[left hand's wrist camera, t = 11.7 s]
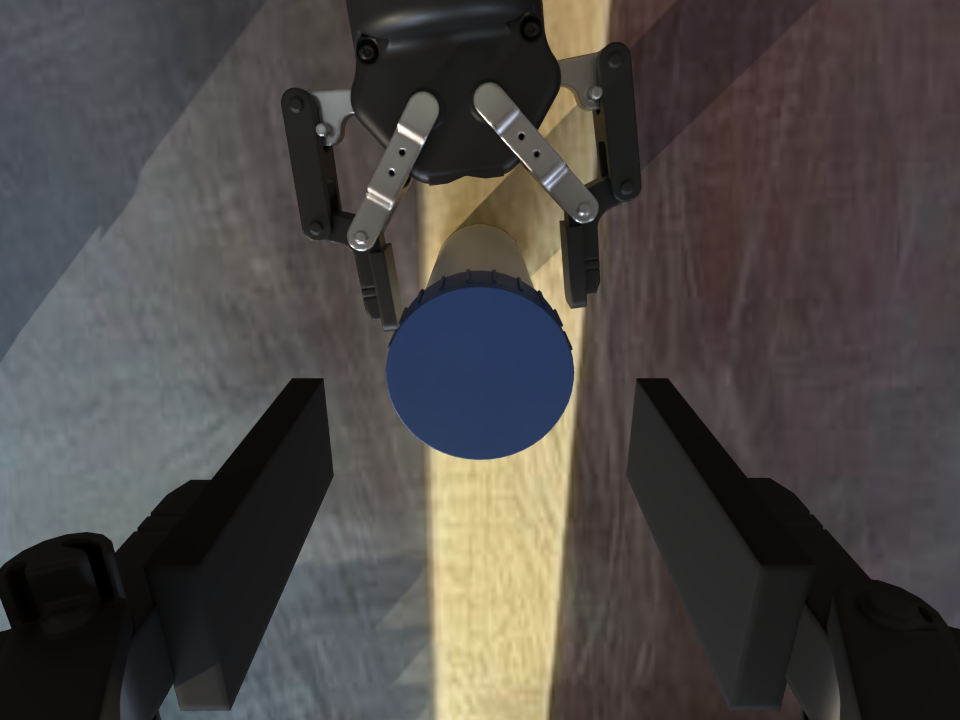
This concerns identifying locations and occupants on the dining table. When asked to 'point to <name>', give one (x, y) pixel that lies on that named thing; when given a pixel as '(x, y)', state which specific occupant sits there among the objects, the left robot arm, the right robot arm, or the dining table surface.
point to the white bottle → (479, 254)
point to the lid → (479, 366)
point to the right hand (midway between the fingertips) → (484, 315)
